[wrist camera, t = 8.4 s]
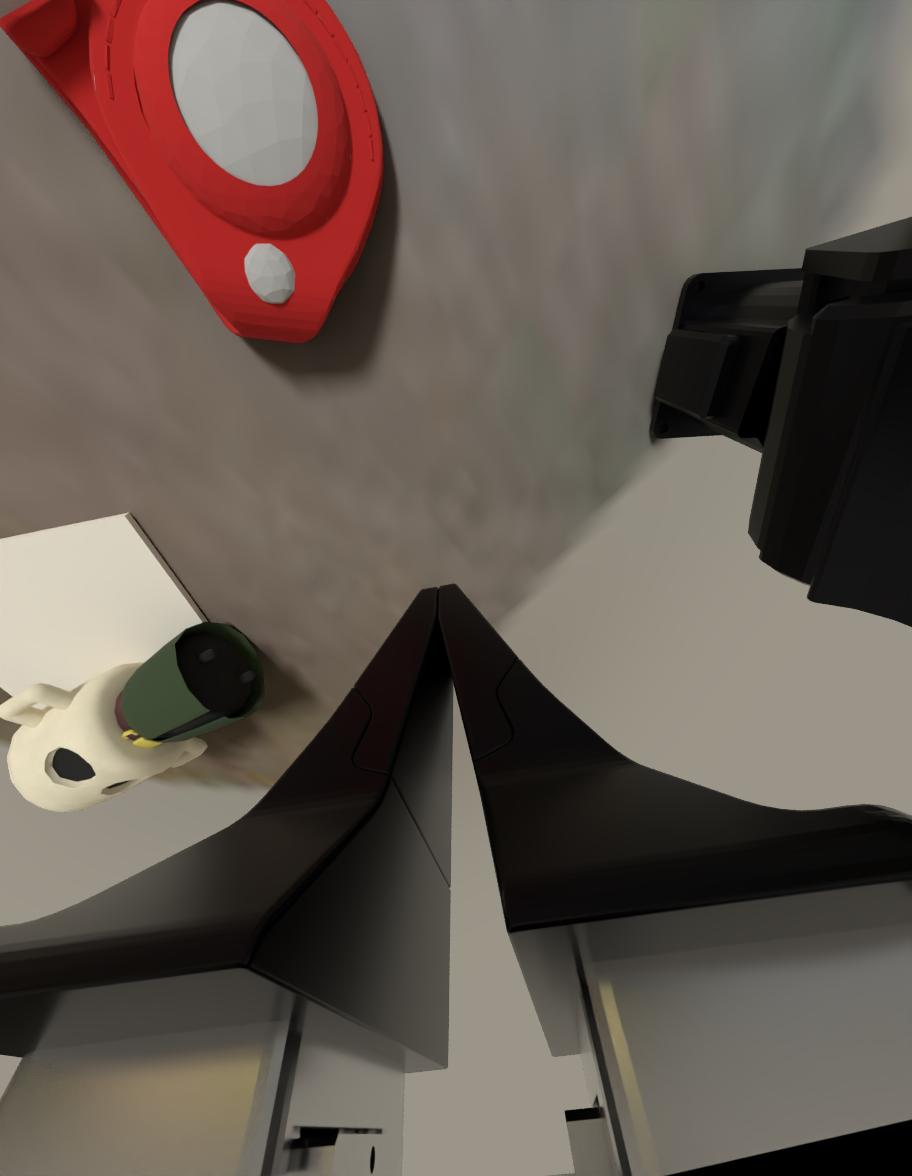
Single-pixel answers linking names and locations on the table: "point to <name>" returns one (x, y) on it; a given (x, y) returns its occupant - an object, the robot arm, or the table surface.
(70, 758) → the character mug
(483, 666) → the robot arm
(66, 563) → the oatmeal mat
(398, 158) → the table surface
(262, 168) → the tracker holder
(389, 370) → the table surface
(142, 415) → the table surface
